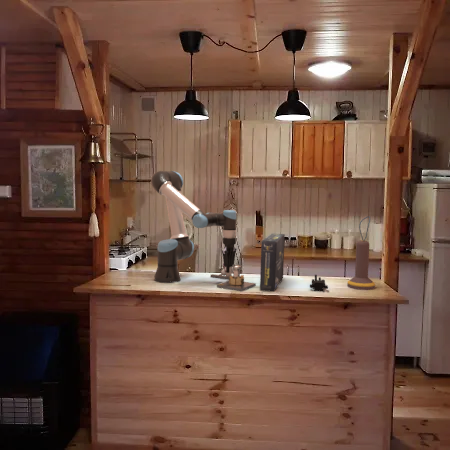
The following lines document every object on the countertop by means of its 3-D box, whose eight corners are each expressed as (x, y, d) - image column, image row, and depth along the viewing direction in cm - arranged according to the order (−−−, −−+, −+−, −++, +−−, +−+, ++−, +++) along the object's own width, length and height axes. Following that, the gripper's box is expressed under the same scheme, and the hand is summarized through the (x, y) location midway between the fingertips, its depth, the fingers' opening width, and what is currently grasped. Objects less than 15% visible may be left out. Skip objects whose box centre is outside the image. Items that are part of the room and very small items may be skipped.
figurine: (232, 279, 301) (229, 281, 286) (219, 276, 303) (215, 277, 288) (237, 262, 301) (234, 262, 287) (223, 258, 303) (219, 258, 288)
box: (275, 292, 257) (277, 240, 254) (259, 290, 259) (260, 240, 256) (284, 279, 291) (285, 233, 288) (269, 278, 293) (270, 233, 290)
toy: (309, 281, 290) (309, 291, 260) (309, 274, 290) (310, 282, 260) (325, 282, 288) (327, 292, 259) (325, 274, 288) (328, 283, 259)
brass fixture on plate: (216, 287, 265) (216, 266, 264) (231, 282, 279) (231, 262, 277) (241, 291, 257) (242, 269, 256) (255, 286, 270) (256, 265, 269)
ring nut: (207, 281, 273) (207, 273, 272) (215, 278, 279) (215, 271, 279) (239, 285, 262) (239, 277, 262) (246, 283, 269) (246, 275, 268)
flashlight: (350, 216, 264) (350, 215, 278) (347, 288, 267) (347, 283, 282) (379, 217, 260) (377, 215, 274) (375, 290, 264) (374, 285, 278)
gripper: (229, 238, 267) (228, 280, 269) (240, 236, 278) (240, 276, 280) (217, 237, 271) (217, 279, 273) (229, 235, 282) (229, 275, 284)
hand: (228, 277), depth 277 cm, fingers closed
